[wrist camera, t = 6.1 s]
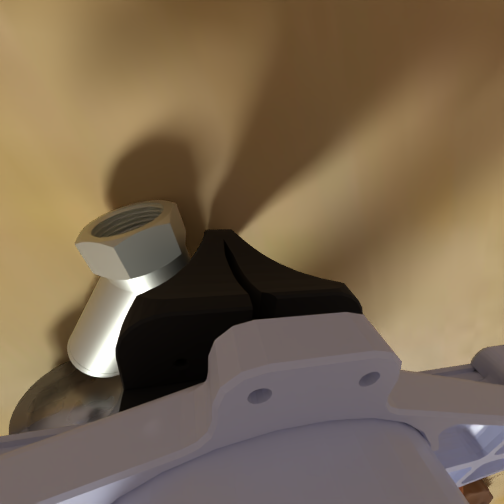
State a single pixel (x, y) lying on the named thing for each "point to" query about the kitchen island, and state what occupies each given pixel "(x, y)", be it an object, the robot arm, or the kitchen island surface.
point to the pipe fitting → (123, 274)
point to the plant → (477, 493)
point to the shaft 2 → (66, 400)
